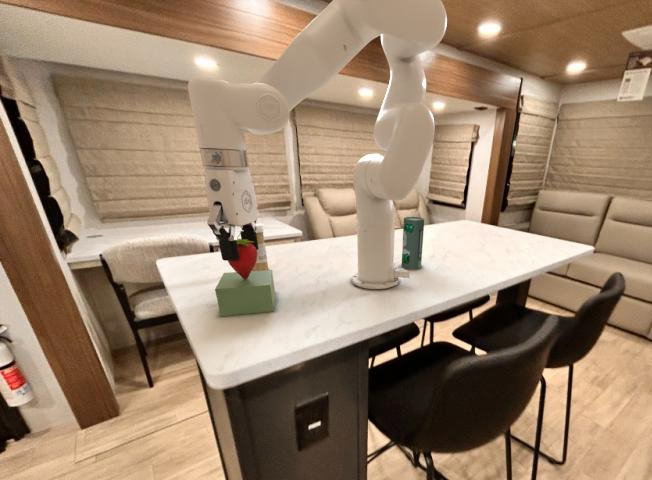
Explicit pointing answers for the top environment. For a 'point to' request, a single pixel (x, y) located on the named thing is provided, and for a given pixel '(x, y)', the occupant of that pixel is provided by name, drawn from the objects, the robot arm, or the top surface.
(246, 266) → the strawberry
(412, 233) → the can
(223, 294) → the green block
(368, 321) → the top surface
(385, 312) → the top surface
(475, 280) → the top surface
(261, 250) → the sprinkles bottle
